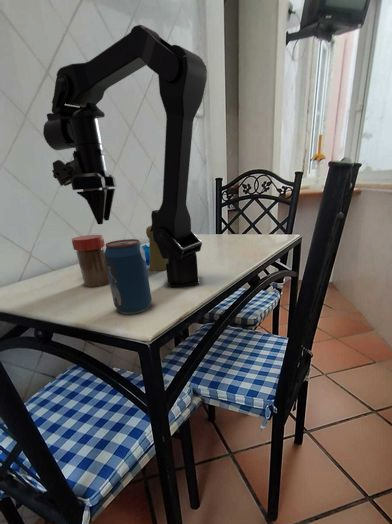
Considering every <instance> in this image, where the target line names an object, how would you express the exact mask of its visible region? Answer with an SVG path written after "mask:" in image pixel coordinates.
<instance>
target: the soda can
mask: <svg viewBox="0 0 392 524" xmlns="http://www.w3.org/2000/svg"><path fill="white" fill-rule="evenodd" d="M104 252H105V253H104V257H105V262H106V267H107V272H108V277H109V282H110V283H109V287H110V291H111V296H112V301H113V305H114V307H115V308H116V309H117V311H118V312H119V313H121V314H125V315H135V314H139V313H143V312H145V311H147V310H148V309H149V308H150V305H151V304H152V293H151V285H150V280H149V273H148V266H147V259H146V253H145V249H144V248H143V246H142V245H141V242H140V239H135V238H130V239H129V238H128V239H127V238H126V239H119V240H118V239H117V240H112V241H109V242H106V243H105V249H104Z"/></svg>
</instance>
